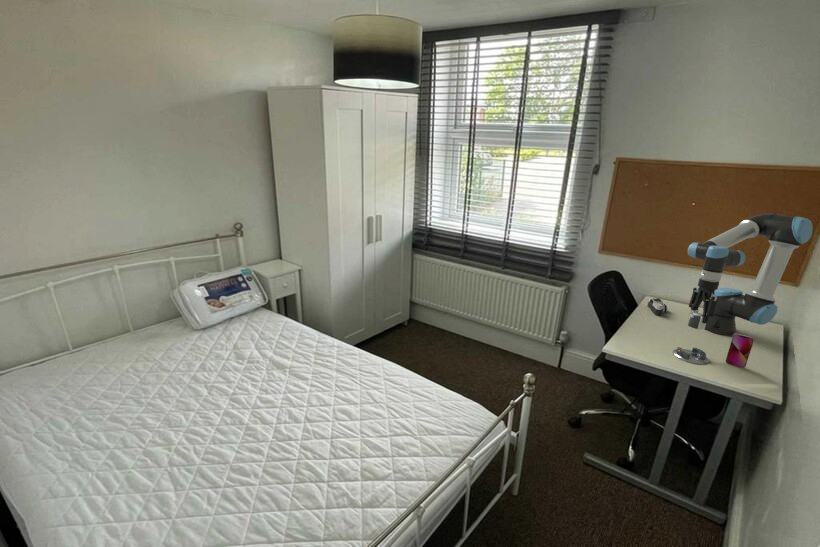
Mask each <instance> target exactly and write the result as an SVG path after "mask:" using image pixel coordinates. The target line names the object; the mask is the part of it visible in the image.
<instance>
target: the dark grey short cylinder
mask: <svg viewBox="0 0 820 547" xmlns="http://www.w3.org/2000/svg"><path fill="white" fill-rule="evenodd" d="M690 313H691V312H690ZM690 313H689V315H688V316H689V318H690V319H688V321H687V322H688V324H687V326H688V327H690V328H692V329H695V330H699V329H698V325H699V322H700V318H701V315H703V313H700V312H698V313H691V314H690Z"/></svg>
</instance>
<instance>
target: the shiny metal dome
mask: <svg viewBox="0 0 820 547" xmlns="http://www.w3.org/2000/svg"><path fill="white" fill-rule="evenodd" d="M672 355H673V356H674V357H675V358H677V359H679V360H681V361H684V362H686V363H690V364H695V365H706V364H708V363H709V358H708V357H707V353H706V352H705V351H704V350H703V349H700V348H698V347H692V349H686V348H682V347H678V346H677V347H676V349H673V351H672Z"/></svg>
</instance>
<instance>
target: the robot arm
mask: <svg viewBox="0 0 820 547" xmlns="http://www.w3.org/2000/svg"><path fill="white" fill-rule="evenodd" d="M813 228H814V227H813V223H812V221H811V220H810V219H809V218H806V217H802V216H795V215H786V214H778V213H763V214H757V215H754V216H751V217H748V218H746V219H744V220H742V221H740V223H739V224H738V225H737V226H734V227H733V228H730V229H727V230H726V231H724V232H722V233H720V234H718V235H716V236H714V237H712V238H710V239H708V240H706V241H704V242H702V243H701V242H692V243H691V244H689V246H688V248H687V255H688V256H689V258H693V259H696V260H702V261H703V266H702V270H701V273H700V278H699V280H698V283H697V286H698V287H693V289H692V290H693V291H692V294H691V297H690V300H689V304H688V308H690V313H689V315H690V314H691V313H699V308H700V306H701V304H702V303H703V310H702V314H703V315H701V318H700V322H699V325H698V329H697V330H707V331H708V332H712V333H715V334H719V335H726V336H730V335H731V336H733V334H735V333H737V332H736V331H737V327H736V317H737V318H740V319H741V320H744V321H747V322H750V323H751V324H752V323H754V324H755V325H756V324H757V325H760V326H761V325H766V324H768V323H769V322H771V321H772V320H773V319H774V318H775V316H776V314H778V313H777V312H778V306H777V305H776V304H775V303H776V299H775V298H774V294H775V292H776V290H777V287H778V286H779V283H780V281H781V279H782V276H783V274H784V272H785V270H786V267H787V265H788V263H789V260H790V258H791V257H792V254H793V252H794V250H796V249H799V247H801V244H805V243H807V242H808V241H809V240H810V239H811V238H812V234H813V230H814V229H813ZM755 237H767V238H768V240H767V241H768V243H769V247H768V250H767V253H766V255H765V257H764V260H763V261H762V265H761V267H760V269H759V271H758V273H757V276H756V278H755V280H754V282H753V285H752V287H751V289H750V291H747V292H745V294H744V292H743V290H741V289H738V288H730V287H719V285H720V282H721V278H722V276H723V271H724V268H728V267H729V268H731V267H732V268H734V267H739V266H741V265H743V264H744V263H745V261H746V255H745V253H744V252H743V251H741V250H738V249H737V250H736V249H729V248H731V247H733V246H735V245H737V244H739V243H741V242H742V241H745V240H747V239H753V238H755ZM689 319H690V317H689ZM689 319H688V320H689Z"/></svg>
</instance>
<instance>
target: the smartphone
mask: <svg viewBox="0 0 820 547" xmlns="http://www.w3.org/2000/svg"><path fill="white" fill-rule="evenodd" d="M754 341H755V339H754V337H752V336H749V335H744V334H740V333H737V332H735V334H733V335H732V338H731V340H730V343H729V347H728V351H727V355H726V357H725V363H726V364H728V365H732V366H736V367H739V368H743V369H744V368H745V367H746V366H747V364H748V360H749V357H750V354H751V351H752V348H753V344H754Z"/></svg>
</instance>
